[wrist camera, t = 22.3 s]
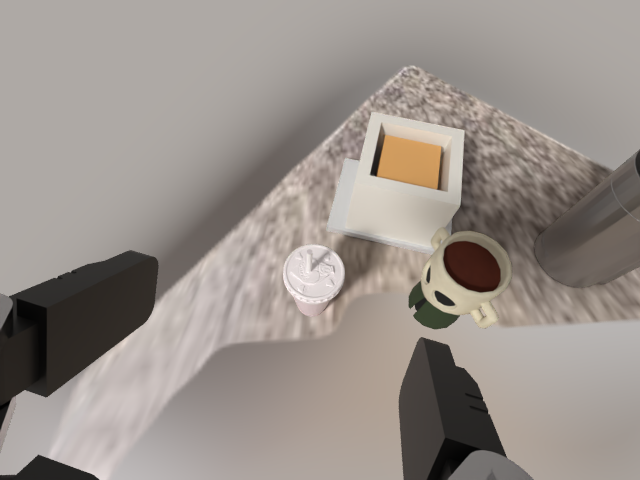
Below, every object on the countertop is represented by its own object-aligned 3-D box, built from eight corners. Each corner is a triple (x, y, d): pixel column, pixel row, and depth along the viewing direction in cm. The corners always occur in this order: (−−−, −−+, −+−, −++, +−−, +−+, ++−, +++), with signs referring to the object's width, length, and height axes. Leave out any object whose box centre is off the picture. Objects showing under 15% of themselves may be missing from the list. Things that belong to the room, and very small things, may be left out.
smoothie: (285, 280, 46) (279, 223, 33) (334, 276, 46) (345, 219, 34) (287, 329, 43) (281, 286, 30) (340, 324, 43) (355, 281, 31)
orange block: (423, 183, 51) (441, 146, 45) (418, 223, 48) (437, 190, 41) (375, 172, 52) (385, 134, 45) (366, 212, 48) (376, 177, 42)
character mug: (388, 276, 46) (416, 225, 35) (435, 261, 48) (476, 207, 37) (427, 357, 42) (473, 328, 30) (478, 337, 43) (541, 302, 32)
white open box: (452, 185, 54) (484, 131, 45) (447, 258, 48) (483, 214, 39) (344, 162, 56) (353, 105, 46) (326, 230, 49) (332, 181, 40)
